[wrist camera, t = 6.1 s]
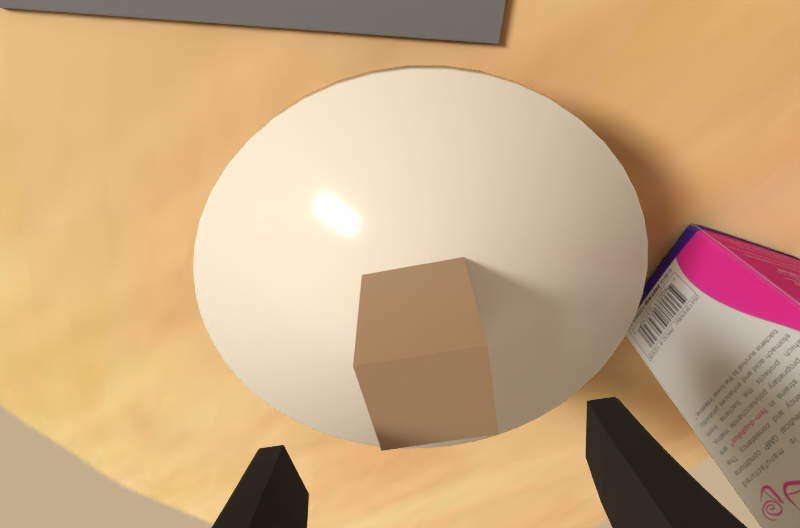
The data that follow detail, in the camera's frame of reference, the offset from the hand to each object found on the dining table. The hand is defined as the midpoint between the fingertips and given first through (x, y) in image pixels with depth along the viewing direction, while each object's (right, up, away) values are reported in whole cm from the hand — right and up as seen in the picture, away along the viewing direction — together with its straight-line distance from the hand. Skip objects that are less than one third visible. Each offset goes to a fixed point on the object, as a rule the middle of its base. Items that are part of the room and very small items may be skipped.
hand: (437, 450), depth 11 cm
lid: (0, +3, +5) cm, 6 cm away
